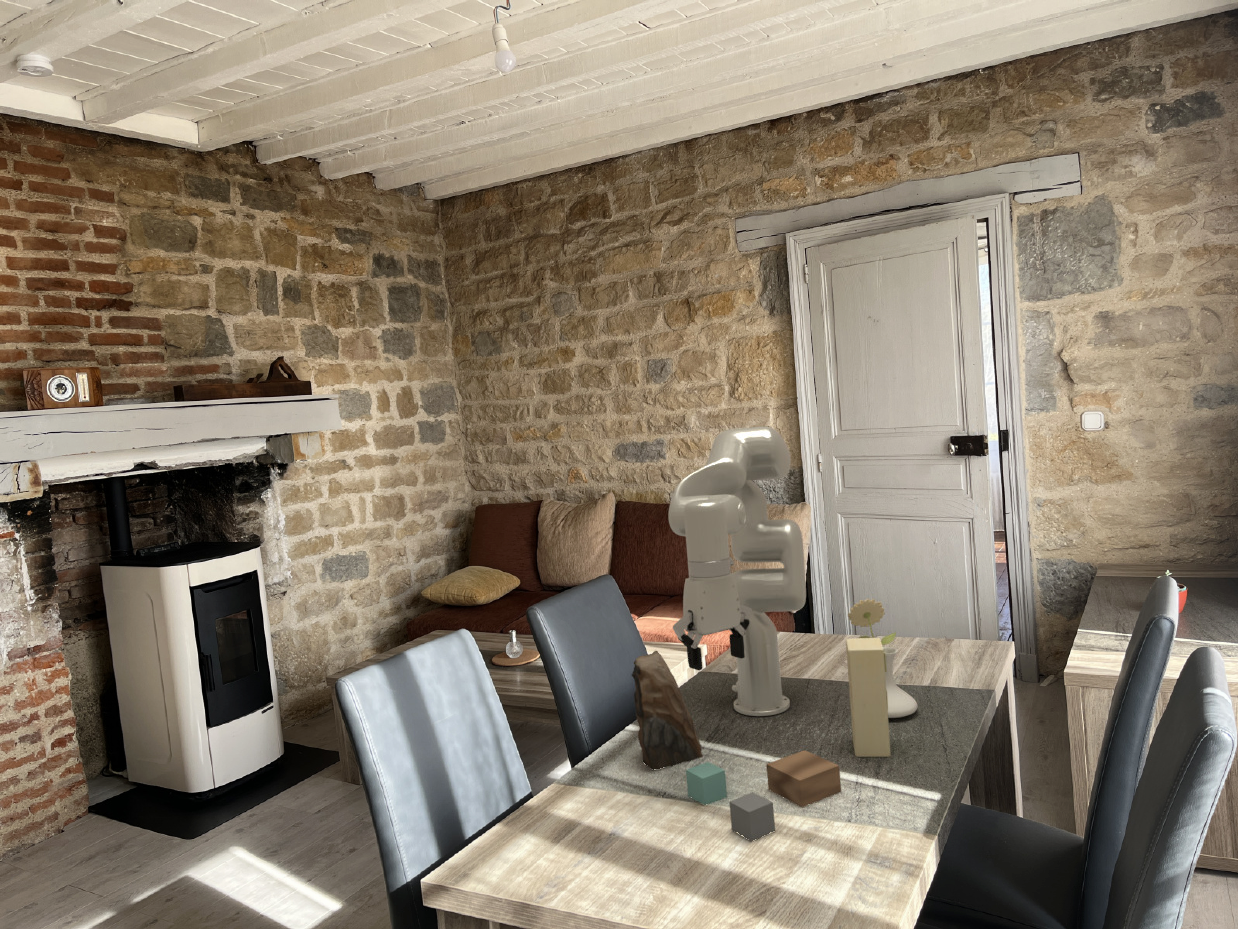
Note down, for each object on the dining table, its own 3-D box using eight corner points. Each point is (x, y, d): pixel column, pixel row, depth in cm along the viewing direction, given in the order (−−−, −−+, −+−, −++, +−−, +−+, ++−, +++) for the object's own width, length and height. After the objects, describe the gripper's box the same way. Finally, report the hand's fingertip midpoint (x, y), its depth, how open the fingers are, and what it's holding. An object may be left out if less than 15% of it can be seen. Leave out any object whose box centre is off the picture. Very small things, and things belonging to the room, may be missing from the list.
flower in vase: (918, 704, 191) (910, 591, 190) (918, 724, 181) (909, 605, 179) (856, 703, 196) (848, 593, 194) (853, 722, 185) (844, 605, 183)
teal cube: (688, 796, 158) (685, 769, 158) (710, 788, 161) (707, 761, 160) (704, 806, 154) (702, 778, 153) (727, 797, 156) (724, 770, 156)
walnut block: (768, 791, 158) (766, 764, 157) (806, 776, 162) (804, 750, 162) (802, 809, 150) (799, 780, 149) (841, 793, 154) (839, 765, 154)
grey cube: (731, 831, 144) (729, 801, 144) (755, 821, 147) (752, 792, 146) (751, 842, 140) (748, 812, 140) (775, 832, 142) (772, 802, 142)
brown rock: (649, 774, 169) (639, 672, 168) (620, 753, 180) (611, 658, 179) (705, 757, 174) (696, 659, 173) (674, 738, 186) (665, 645, 184)
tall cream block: (895, 757, 166) (887, 648, 165) (855, 757, 167) (847, 650, 166) (891, 740, 174) (883, 636, 172) (852, 741, 175) (844, 638, 174)
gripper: (733, 559, 165) (740, 649, 166) (658, 574, 156) (666, 669, 157) (759, 563, 159) (767, 656, 159) (683, 578, 149) (691, 677, 150)
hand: (717, 662), depth 158 cm, fingers open, 9 cm apart
